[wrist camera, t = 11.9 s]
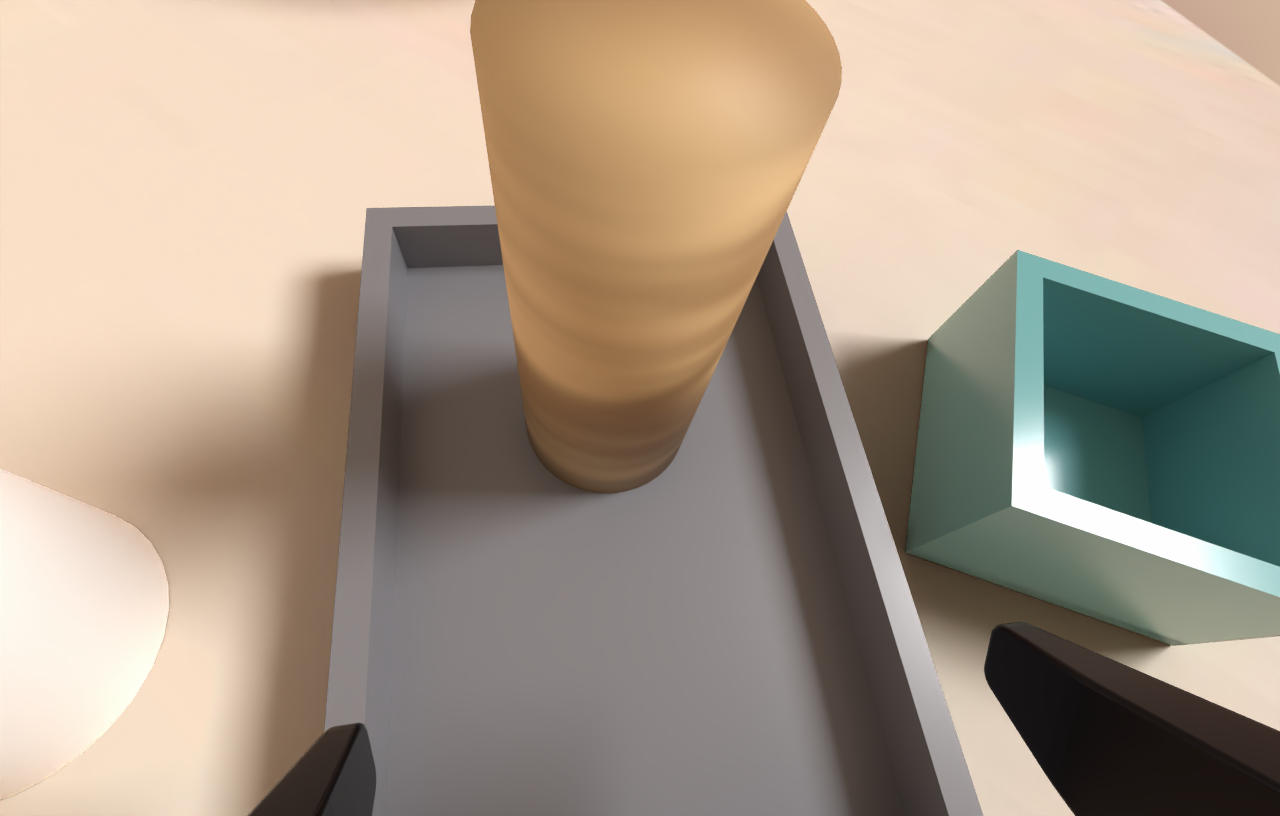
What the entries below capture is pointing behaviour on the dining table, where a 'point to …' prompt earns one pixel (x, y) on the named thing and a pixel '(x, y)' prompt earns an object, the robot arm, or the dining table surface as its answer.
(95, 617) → the cylindrical container
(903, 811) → the charcoal tray
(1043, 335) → the teal open box
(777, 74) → the dowel pin
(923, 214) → the dining table surface
